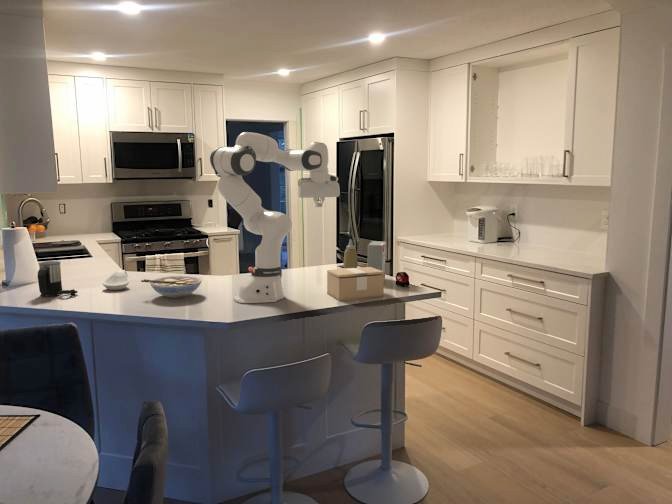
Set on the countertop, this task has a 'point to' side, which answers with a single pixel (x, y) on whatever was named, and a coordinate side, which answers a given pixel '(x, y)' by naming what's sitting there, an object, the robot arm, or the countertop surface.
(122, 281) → the spoon rest
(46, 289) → the milk frother
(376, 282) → the cardboard box
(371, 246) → the hard drive box
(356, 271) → the lid
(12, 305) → the countertop surface
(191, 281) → the ramen bowl
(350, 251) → the squeeze bottle
